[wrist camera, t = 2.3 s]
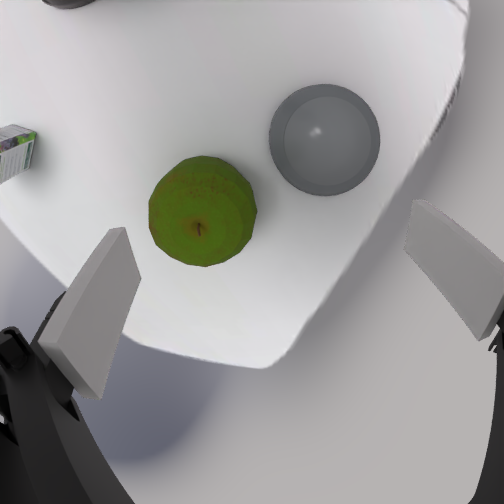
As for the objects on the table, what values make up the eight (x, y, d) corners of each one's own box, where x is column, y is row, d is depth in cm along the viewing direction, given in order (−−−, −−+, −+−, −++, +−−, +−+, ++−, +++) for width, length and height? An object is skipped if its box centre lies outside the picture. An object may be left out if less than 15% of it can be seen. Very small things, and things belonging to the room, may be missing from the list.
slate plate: (263, 188, 34) (264, 192, 33) (275, 76, 27) (277, 75, 26) (364, 197, 36) (369, 201, 34) (382, 98, 29) (388, 99, 27)
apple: (257, 156, 32) (270, 183, 23) (244, 235, 38) (250, 287, 28) (164, 147, 30) (137, 170, 21) (161, 228, 36) (140, 276, 27)
